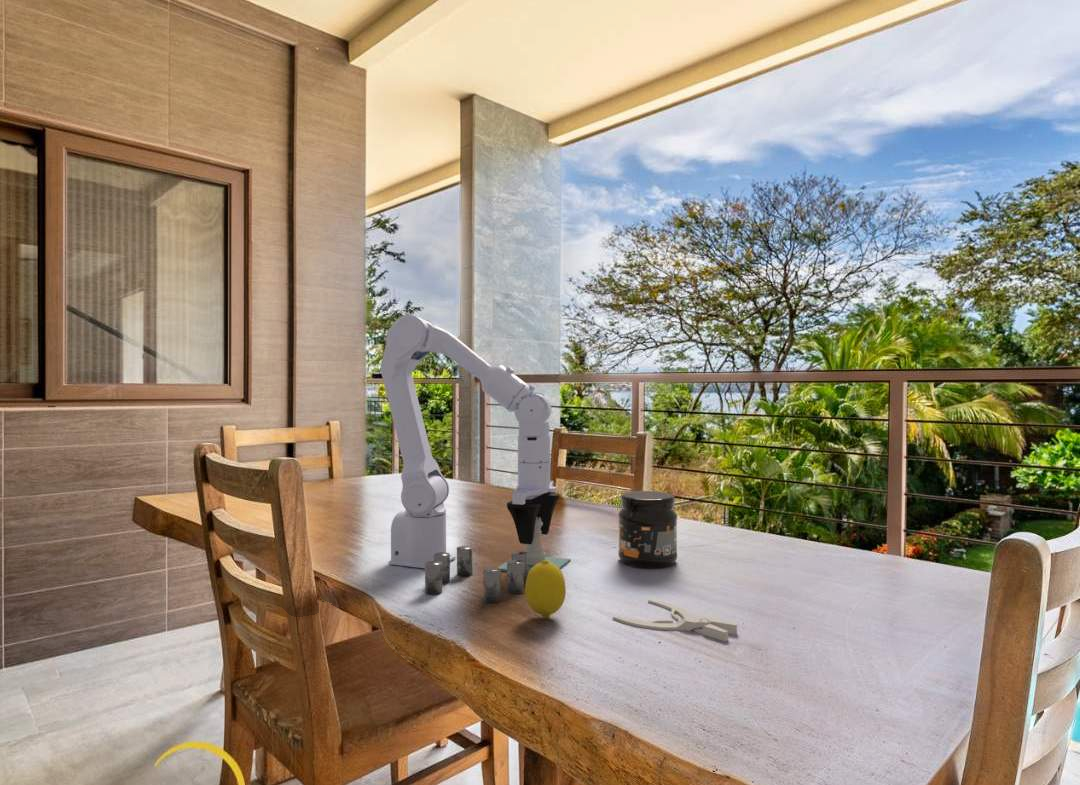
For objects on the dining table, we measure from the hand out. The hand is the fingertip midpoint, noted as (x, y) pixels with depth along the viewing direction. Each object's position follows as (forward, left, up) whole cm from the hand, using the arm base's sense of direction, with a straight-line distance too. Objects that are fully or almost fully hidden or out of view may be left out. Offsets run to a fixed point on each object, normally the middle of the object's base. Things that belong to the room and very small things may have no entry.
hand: (534, 538), depth 113 cm
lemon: (+11, -23, -5) cm, 26 cm away
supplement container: (+18, +10, -5) cm, 21 cm away
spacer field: (-4, -14, -5) cm, 15 cm away
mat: (0, 0, -5) cm, 5 cm away
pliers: (+28, -18, -5) cm, 34 cm away
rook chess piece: (0, 0, -5) cm, 5 cm away
